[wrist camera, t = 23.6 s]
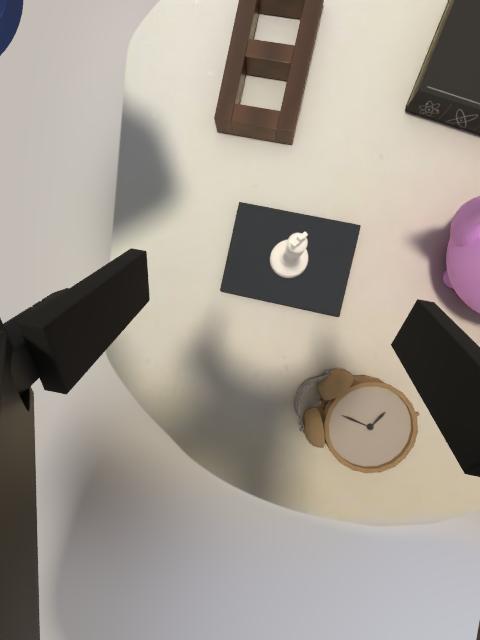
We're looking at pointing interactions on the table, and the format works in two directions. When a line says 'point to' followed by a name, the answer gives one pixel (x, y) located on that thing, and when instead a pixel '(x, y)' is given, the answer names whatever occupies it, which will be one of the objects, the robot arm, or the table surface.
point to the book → (452, 70)
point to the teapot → (465, 254)
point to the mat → (322, 268)
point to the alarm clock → (360, 421)
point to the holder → (267, 70)
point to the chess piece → (290, 256)
